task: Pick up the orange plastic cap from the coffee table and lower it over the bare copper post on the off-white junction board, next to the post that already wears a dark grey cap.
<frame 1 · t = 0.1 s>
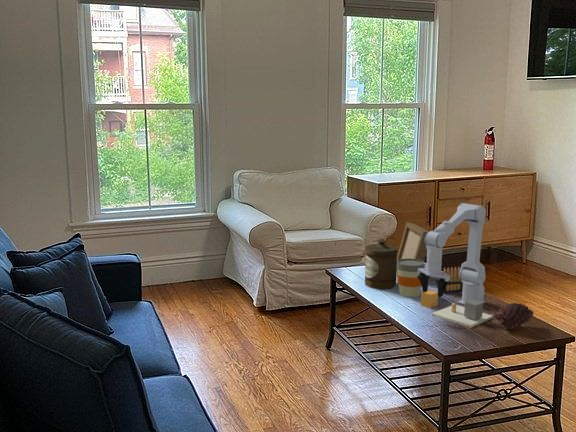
hand: (432, 294, 245), 10 cm above the table, tool pointing down, fingers open, 7 cm apart
wooden container: (380, 284, 290), on the table
ammunition clip: (452, 292, 279), on the table
photo frame: (415, 276, 304), on the table
pine cone: (514, 328, 236), on the table
orange cap: (428, 305, 261), on the table
reusable coffee cup: (409, 294, 276), on the table
junction board: (462, 316, 248), on the table
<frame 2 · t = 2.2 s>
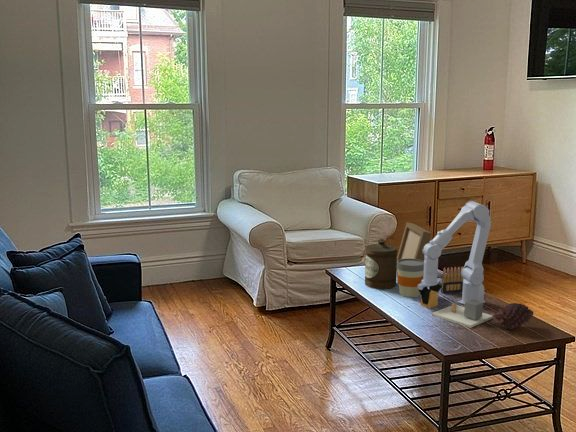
hand: (429, 302, 261), 1 cm above the table, tool pointing down, fingers closed on orange cap, 5 cm apart
orange cap: (428, 305, 261), on the table, touching gripper
everything else where it was.
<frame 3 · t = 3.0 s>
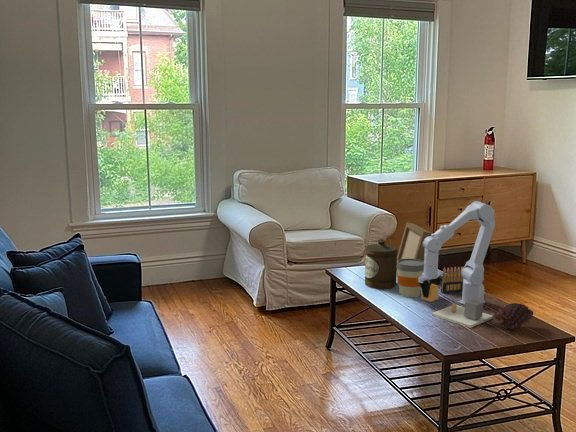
hand: (429, 295, 260), 4 cm above the table, tool pointing down, fingers closed on orange cap, 5 cm apart
orange cap: (429, 298, 261), point 3 cm above the table, touching gripper
everything else where it was.
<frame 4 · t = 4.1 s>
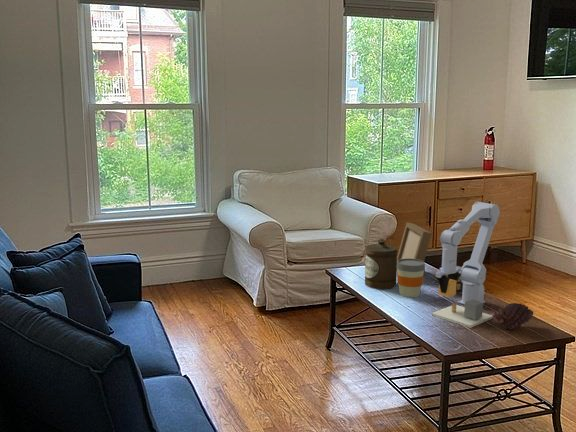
hand: (447, 291, 252), 9 cm above the table, tool pointing down, fingers closed on orange cap, 5 cm apart
orange cap: (447, 294, 252), point 7 cm above the table, touching gripper
everything else where it was.
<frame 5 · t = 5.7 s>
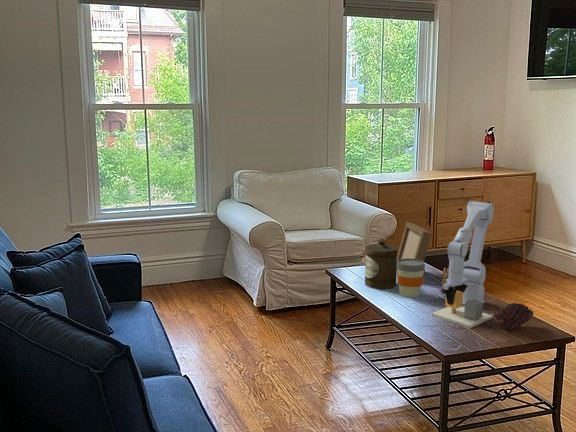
hand: (454, 302, 250), 5 cm above the table, tool pointing down, fingers closed on orange cap, 5 cm apart
orange cap: (453, 306, 250), point 3 cm above the table, touching gripper
everything else where it was.
when the fingers open (4 cm above the table, at t = 6.5 s): orange cap stays where it is, resting on junction board.
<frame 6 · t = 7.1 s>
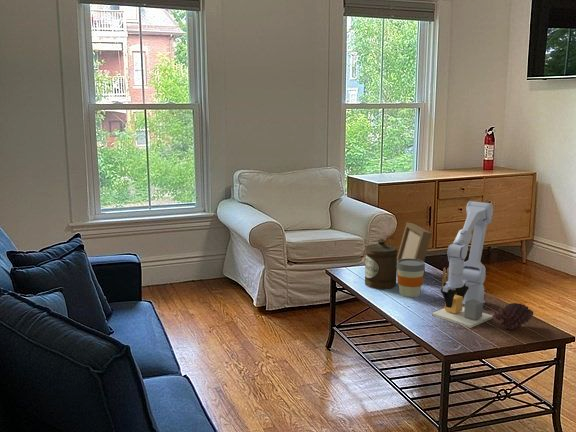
hand: (454, 305, 250), 4 cm above the table, tool pointing down, fingers open, 7 cm apart
orange cap: (453, 310, 251), point 2 cm above the table, touching junction board
everything else where it was.
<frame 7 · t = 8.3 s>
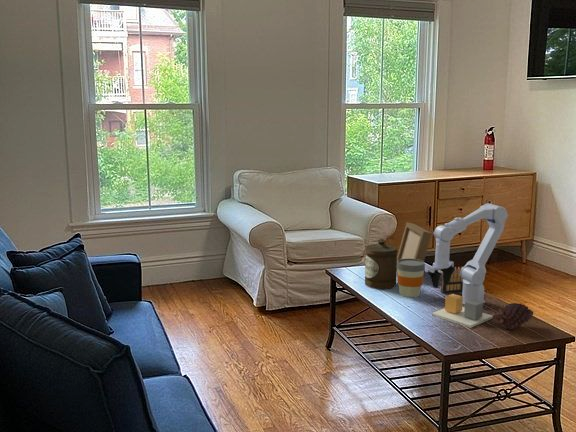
hand: (440, 285, 258), 9 cm above the table, tool pointing down, fingers open, 7 cm apart
nothing on the table moved.
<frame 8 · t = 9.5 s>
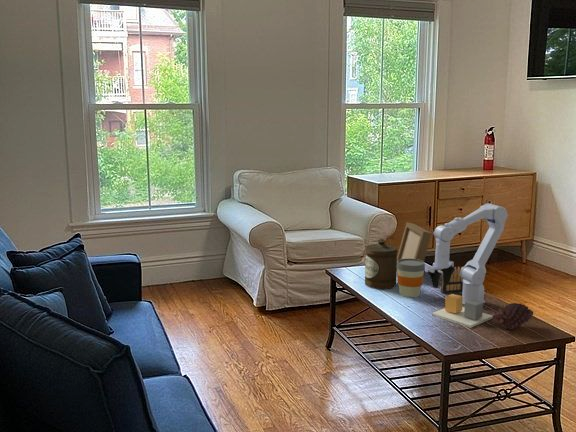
hand: (440, 285, 258), 9 cm above the table, tool pointing down, fingers open, 7 cm apart
nothing on the table moved.
at the end: orange cap 0.2 cm from the target spot on the junction board, point 1.5 cm above the junction board's base; orange cap tilted 1°; the gripper is holding nothing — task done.
